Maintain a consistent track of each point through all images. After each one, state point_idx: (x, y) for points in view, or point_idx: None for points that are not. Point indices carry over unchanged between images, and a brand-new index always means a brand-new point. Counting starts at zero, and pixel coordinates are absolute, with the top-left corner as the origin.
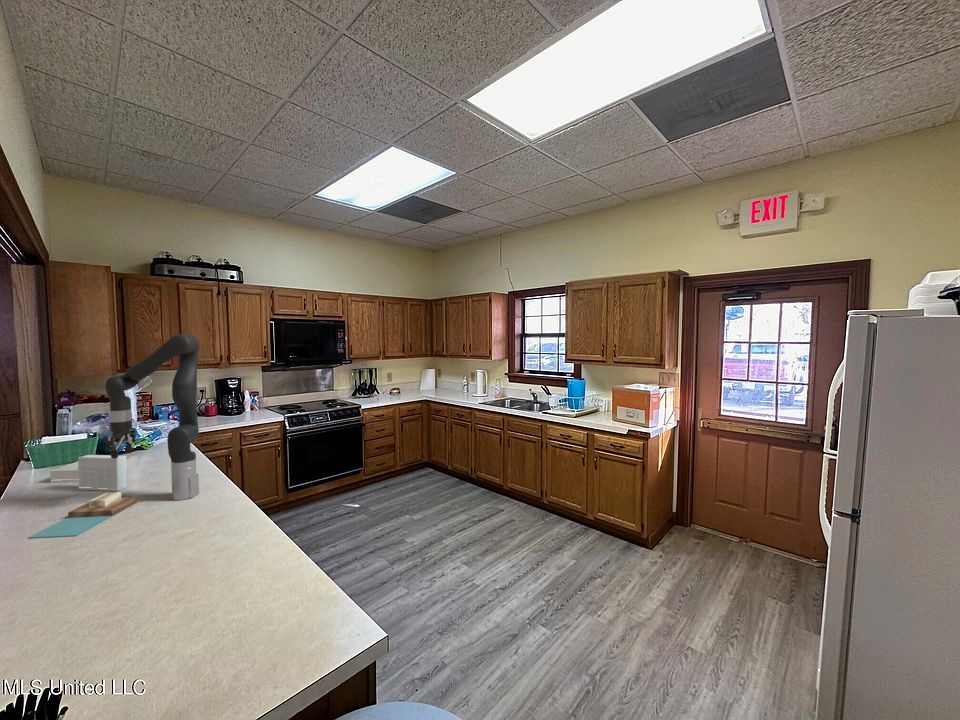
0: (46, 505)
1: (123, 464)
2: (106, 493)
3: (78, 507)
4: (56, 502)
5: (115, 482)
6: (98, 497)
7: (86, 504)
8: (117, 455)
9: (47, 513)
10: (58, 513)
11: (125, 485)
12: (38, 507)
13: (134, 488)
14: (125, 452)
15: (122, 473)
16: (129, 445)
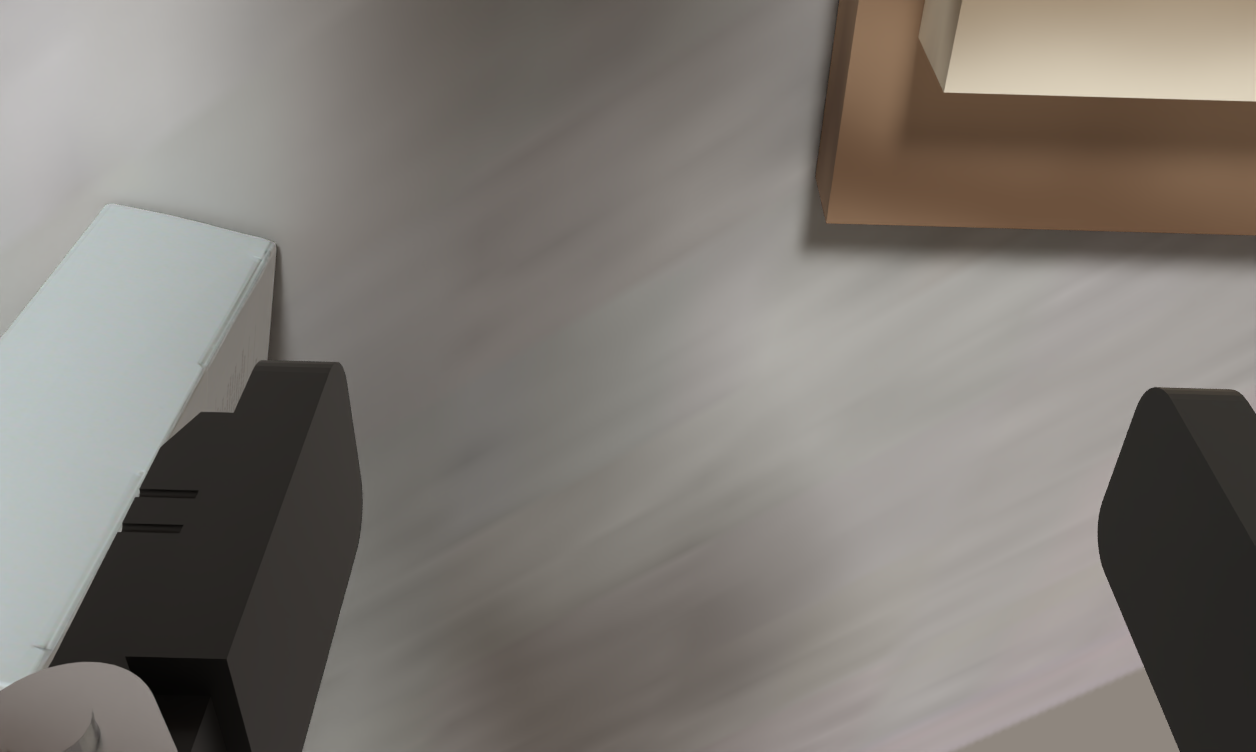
0: (724, 656)
1: None
2: (993, 60)
3: (1187, 230)
4: (645, 630)
5: (231, 349)
6: (1203, 62)
7: (1081, 201)
8: (1237, 453)
9: (1004, 513)
10: (1050, 412)
11: (117, 229)
12: (771, 681)
13: (116, 58)
14: (353, 538)
15: (73, 385)
16: (239, 690)
